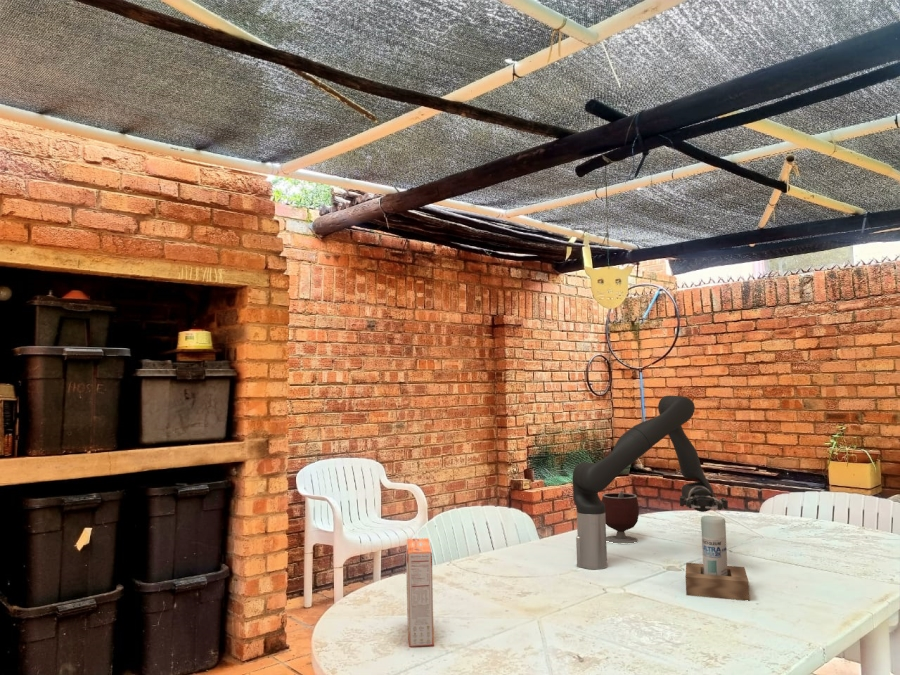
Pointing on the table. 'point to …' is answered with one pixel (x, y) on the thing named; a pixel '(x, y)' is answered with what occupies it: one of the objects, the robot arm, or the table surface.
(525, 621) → the table surface
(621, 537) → the mate gourd
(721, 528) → the spray paint can
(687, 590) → the walnut holder
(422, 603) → the cracker box
